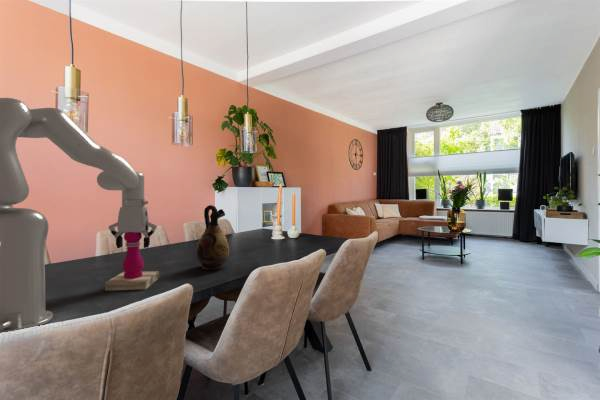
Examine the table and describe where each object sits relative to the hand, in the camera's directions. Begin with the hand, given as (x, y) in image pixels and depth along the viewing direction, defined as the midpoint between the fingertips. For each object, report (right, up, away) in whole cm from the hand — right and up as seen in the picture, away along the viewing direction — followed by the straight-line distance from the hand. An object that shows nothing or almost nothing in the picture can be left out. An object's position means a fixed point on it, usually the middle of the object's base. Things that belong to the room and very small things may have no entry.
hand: (133, 247), depth 113 cm
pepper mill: (0, -12, 0) cm, 12 cm away
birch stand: (0, -15, +1) cm, 15 cm away
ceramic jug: (+23, -14, +27) cm, 38 cm away
